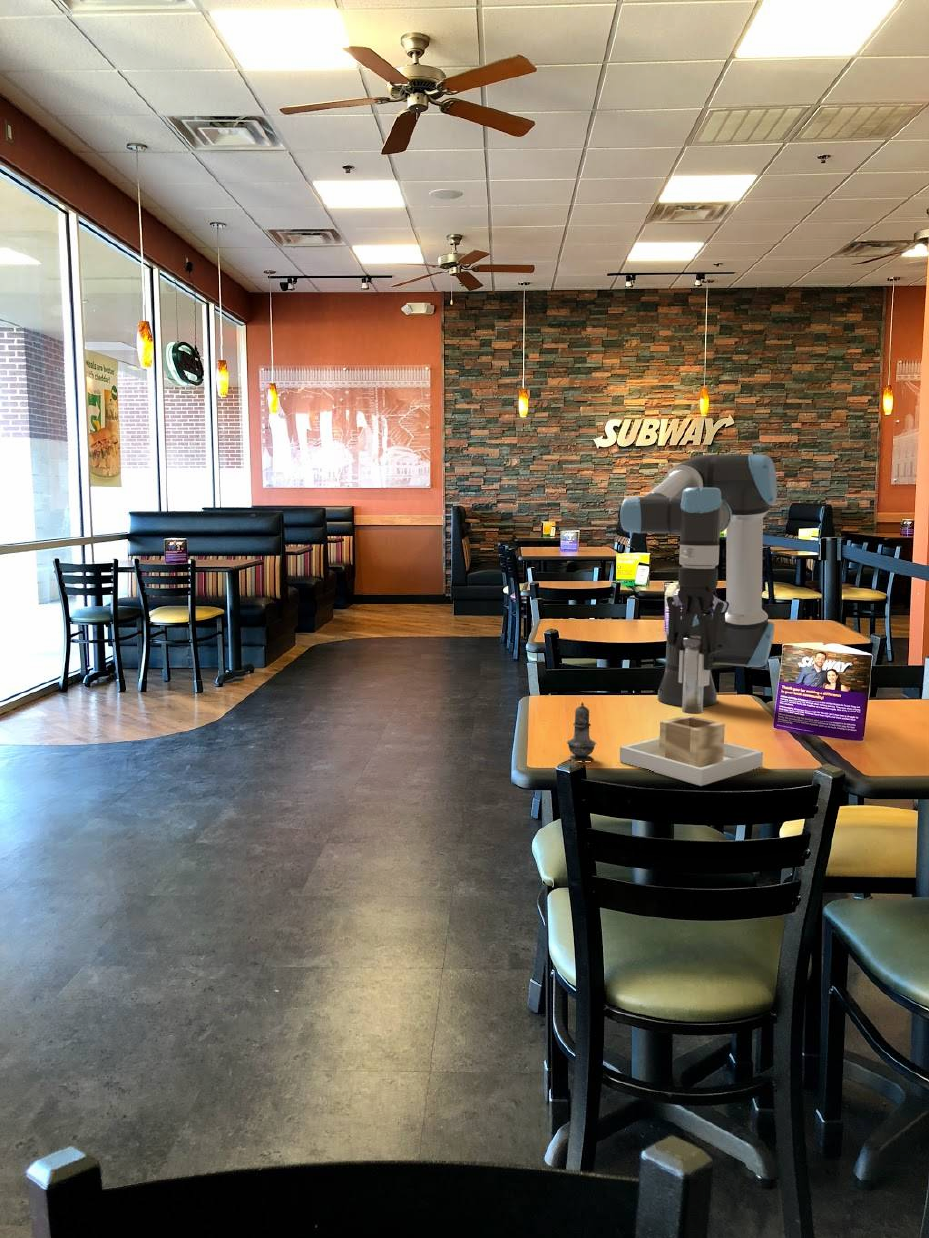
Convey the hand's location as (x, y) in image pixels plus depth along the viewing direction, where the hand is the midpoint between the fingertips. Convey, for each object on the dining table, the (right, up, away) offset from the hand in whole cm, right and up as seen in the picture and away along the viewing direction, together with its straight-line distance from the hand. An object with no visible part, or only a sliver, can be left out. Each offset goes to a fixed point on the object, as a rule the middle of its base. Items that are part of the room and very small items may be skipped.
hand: (693, 683), depth 186 cm
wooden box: (0, -16, +2) cm, 16 cm away
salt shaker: (-22, -16, +5) cm, 28 cm away
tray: (0, -16, +2) cm, 17 cm away
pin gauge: (0, -6, +1) cm, 6 cm away
